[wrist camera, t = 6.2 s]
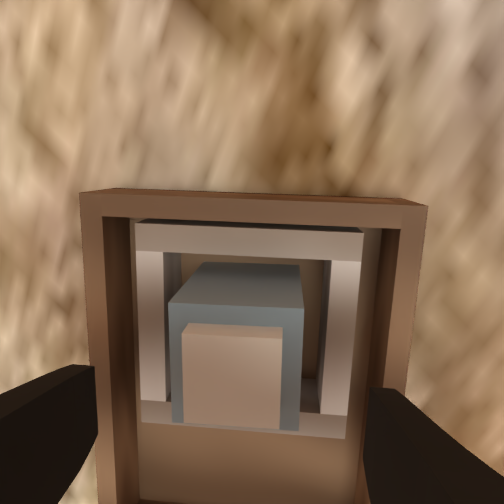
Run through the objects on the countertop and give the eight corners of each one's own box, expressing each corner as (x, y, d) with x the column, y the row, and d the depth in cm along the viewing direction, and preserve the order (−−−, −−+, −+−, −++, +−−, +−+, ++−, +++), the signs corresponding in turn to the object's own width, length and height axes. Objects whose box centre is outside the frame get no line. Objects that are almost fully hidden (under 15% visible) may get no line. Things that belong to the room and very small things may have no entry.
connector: (298, 265, 16) (305, 319, 11) (295, 353, 17) (299, 449, 11) (203, 261, 17) (159, 312, 11) (204, 348, 18) (164, 439, 12)
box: (366, 526, 19) (379, 589, 17) (128, 502, 20) (101, 558, 17) (402, 198, 16) (428, 206, 13) (114, 188, 17) (79, 192, 14)
